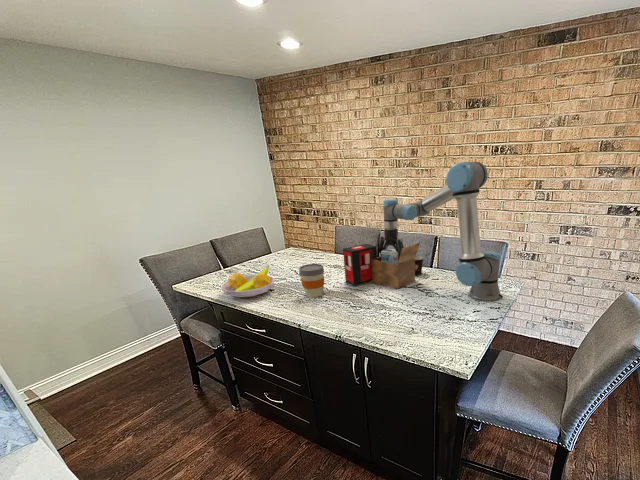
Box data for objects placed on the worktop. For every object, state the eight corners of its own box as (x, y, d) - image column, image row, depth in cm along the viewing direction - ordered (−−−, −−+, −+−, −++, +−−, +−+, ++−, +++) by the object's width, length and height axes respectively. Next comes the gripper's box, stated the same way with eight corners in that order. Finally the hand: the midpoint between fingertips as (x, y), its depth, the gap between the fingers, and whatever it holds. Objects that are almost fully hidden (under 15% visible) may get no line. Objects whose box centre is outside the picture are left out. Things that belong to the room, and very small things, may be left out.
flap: (414, 257, 191) (415, 257, 191) (397, 263, 179) (398, 264, 179) (419, 242, 185) (420, 242, 185) (402, 248, 174) (402, 248, 174)
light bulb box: (381, 269, 192) (380, 251, 188) (386, 266, 198) (385, 248, 194) (398, 271, 189) (398, 252, 184) (402, 267, 194) (402, 249, 190)
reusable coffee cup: (318, 288, 187) (315, 262, 182) (331, 293, 179) (328, 267, 173) (298, 294, 179) (294, 267, 174) (310, 300, 171) (306, 272, 165)
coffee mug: (425, 272, 209) (425, 257, 206) (418, 276, 203) (418, 260, 199) (409, 269, 215) (409, 254, 211) (402, 273, 209) (402, 258, 205)
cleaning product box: (368, 275, 206) (366, 243, 198) (377, 279, 199) (376, 246, 192) (345, 282, 196) (342, 248, 188) (354, 286, 190) (351, 251, 182)
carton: (414, 280, 196) (415, 258, 191) (398, 288, 185) (397, 265, 179) (389, 274, 207) (389, 253, 202) (372, 282, 195) (371, 259, 190)
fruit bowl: (237, 306, 165) (232, 285, 161) (215, 293, 182) (210, 273, 178) (288, 290, 184) (285, 271, 180) (264, 280, 201) (261, 262, 197)
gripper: (412, 229, 180) (412, 268, 189) (379, 225, 194) (380, 261, 202) (404, 232, 175) (404, 272, 183) (370, 227, 188) (372, 264, 197)
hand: (391, 266), depth 193 cm, fingers closed on light bulb box, 11 cm apart
